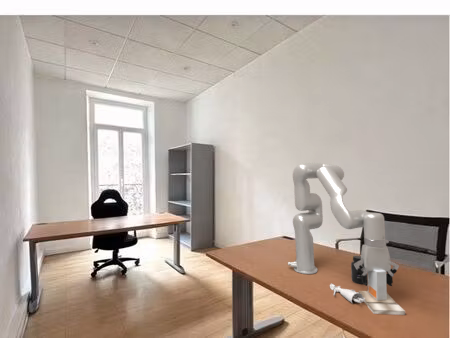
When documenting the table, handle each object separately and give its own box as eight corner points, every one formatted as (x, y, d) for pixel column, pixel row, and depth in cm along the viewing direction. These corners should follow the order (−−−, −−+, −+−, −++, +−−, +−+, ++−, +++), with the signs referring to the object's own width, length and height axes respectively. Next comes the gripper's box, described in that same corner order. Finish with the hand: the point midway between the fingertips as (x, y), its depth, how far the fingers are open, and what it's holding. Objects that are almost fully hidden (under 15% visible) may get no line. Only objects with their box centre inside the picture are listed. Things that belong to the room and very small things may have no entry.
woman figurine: (350, 298, 95) (319, 282, 112) (351, 310, 95) (320, 292, 112) (373, 292, 99) (340, 278, 116) (374, 304, 98) (341, 288, 115)
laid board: (373, 313, 92) (373, 309, 92) (367, 306, 97) (367, 302, 97) (405, 315, 90) (405, 310, 90) (397, 307, 95) (397, 303, 95)
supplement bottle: (361, 286, 114) (360, 260, 115) (348, 280, 120) (347, 256, 121) (370, 282, 117) (369, 257, 118) (357, 277, 124) (356, 254, 124)
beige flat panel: (366, 305, 98) (366, 301, 98) (358, 294, 106) (358, 290, 105) (396, 306, 96) (396, 302, 96) (385, 294, 104) (385, 291, 104)
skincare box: (367, 292, 104) (367, 265, 103) (377, 292, 104) (376, 264, 103) (377, 301, 98) (376, 271, 97) (387, 300, 98) (386, 271, 97)
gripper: (392, 240, 104) (394, 281, 103) (349, 240, 106) (351, 280, 106) (402, 245, 97) (405, 289, 96) (356, 245, 99) (358, 288, 98)
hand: (377, 284), depth 101 cm, fingers open, 9 cm apart
